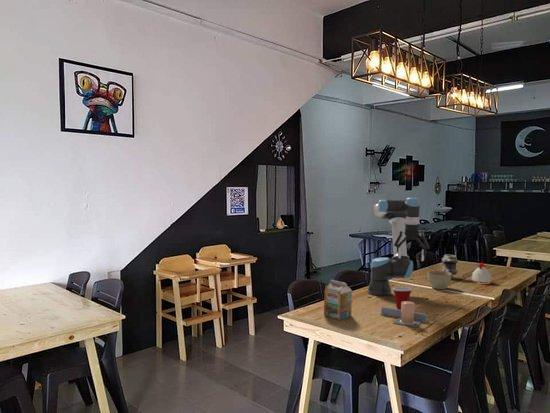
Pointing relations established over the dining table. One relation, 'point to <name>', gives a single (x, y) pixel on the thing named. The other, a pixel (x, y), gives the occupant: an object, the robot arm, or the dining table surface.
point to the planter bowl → (439, 279)
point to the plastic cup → (401, 295)
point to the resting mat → (415, 324)
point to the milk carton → (337, 300)
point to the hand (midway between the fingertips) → (410, 259)
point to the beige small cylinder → (407, 312)
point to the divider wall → (397, 313)
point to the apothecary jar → (449, 264)
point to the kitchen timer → (481, 275)
